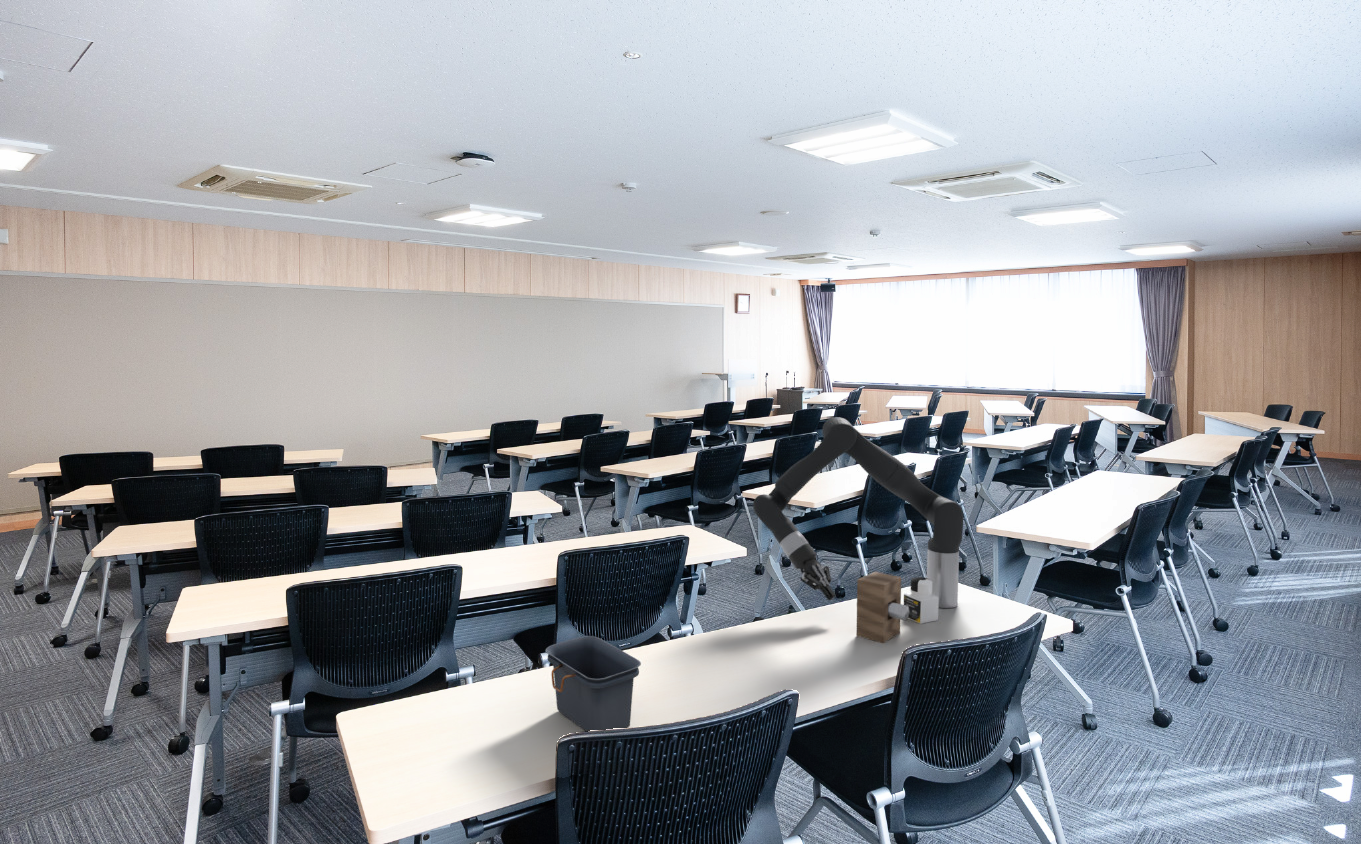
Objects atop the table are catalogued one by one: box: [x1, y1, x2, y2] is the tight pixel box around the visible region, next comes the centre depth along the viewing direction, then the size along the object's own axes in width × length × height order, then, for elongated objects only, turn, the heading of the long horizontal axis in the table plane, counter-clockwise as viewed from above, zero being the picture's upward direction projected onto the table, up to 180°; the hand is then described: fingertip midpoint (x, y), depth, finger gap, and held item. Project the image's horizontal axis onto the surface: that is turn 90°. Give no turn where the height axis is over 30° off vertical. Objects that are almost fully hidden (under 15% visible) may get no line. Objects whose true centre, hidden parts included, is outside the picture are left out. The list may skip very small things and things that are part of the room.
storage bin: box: [545, 635, 642, 732], centre depth 158 cm, size 21×16×14 cm
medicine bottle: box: [903, 576, 939, 625], centre depth 220 cm, size 7×7×12 cm
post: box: [855, 571, 902, 644], centre depth 207 cm, size 10×8×16 cm
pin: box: [888, 602, 909, 621], centre depth 206 cm, size 6×13×6 cm, turn 47°
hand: (832, 598), depth 217 cm, fingers closed
